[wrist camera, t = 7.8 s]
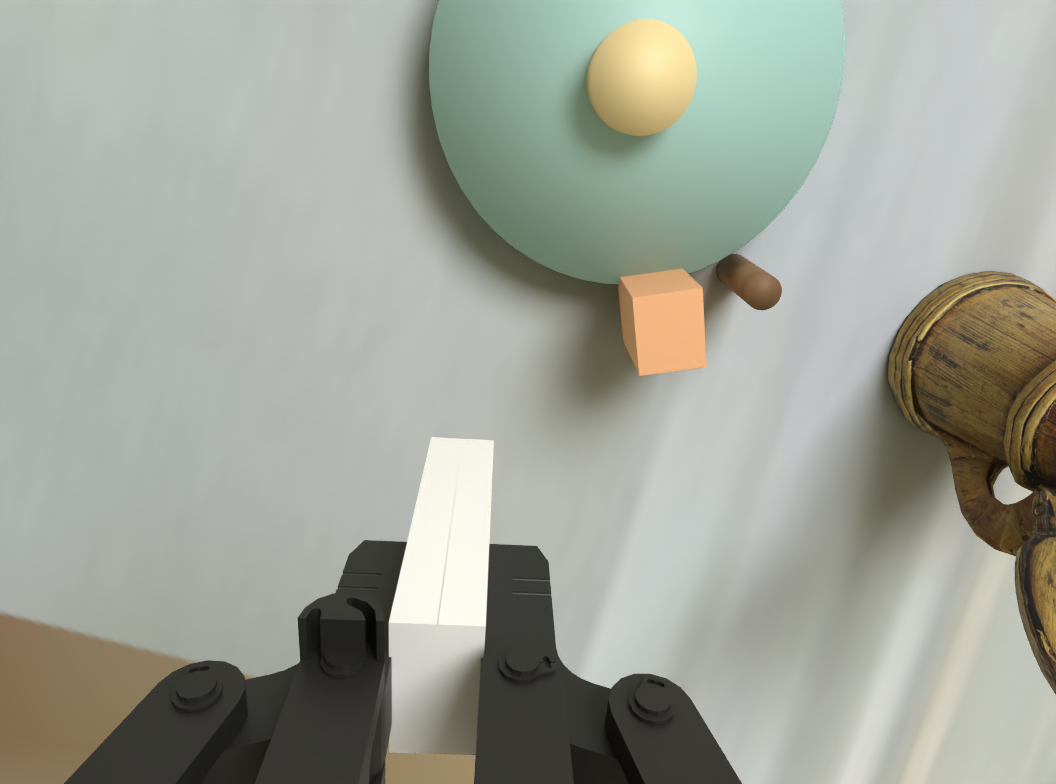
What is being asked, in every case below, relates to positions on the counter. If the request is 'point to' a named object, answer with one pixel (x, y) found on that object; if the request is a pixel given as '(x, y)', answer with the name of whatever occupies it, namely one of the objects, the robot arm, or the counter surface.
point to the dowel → (749, 282)
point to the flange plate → (635, 137)
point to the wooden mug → (993, 421)
